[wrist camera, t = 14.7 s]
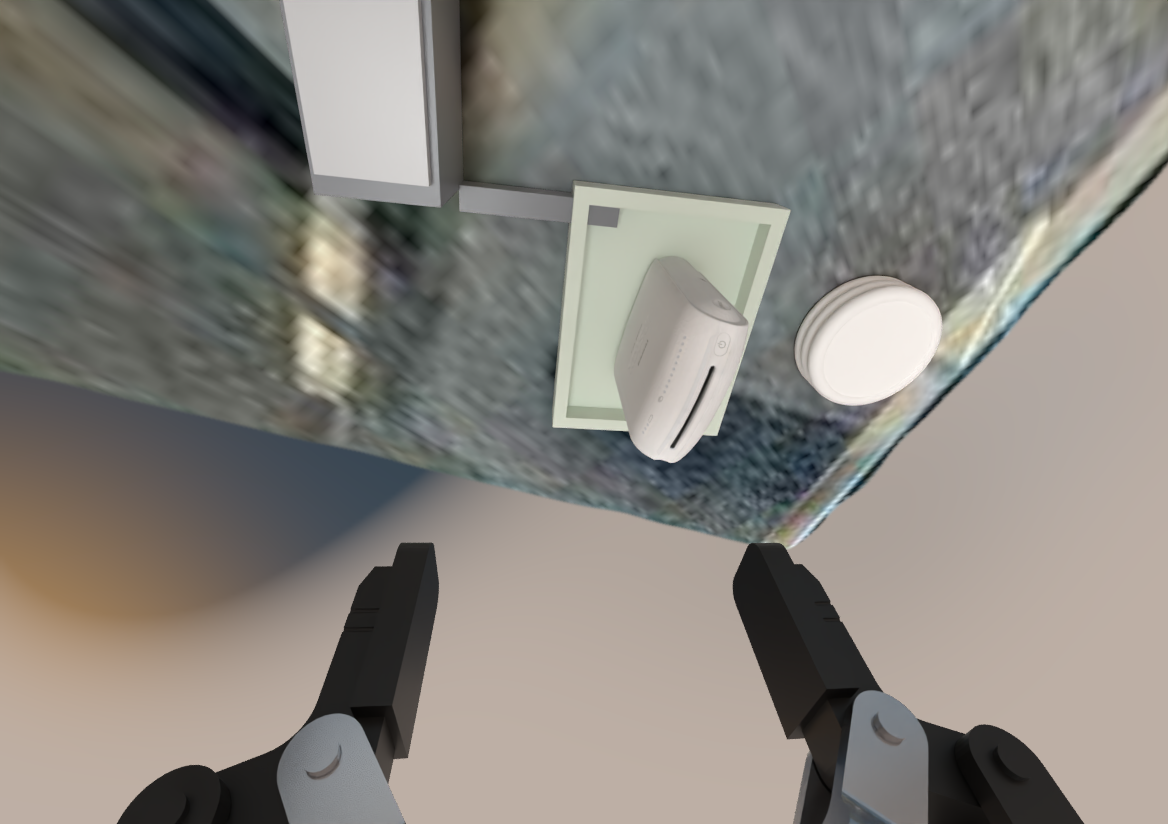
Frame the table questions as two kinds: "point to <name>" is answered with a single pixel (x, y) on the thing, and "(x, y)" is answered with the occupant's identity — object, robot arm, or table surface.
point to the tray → (618, 267)
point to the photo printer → (676, 358)
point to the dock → (395, 108)
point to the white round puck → (867, 339)
